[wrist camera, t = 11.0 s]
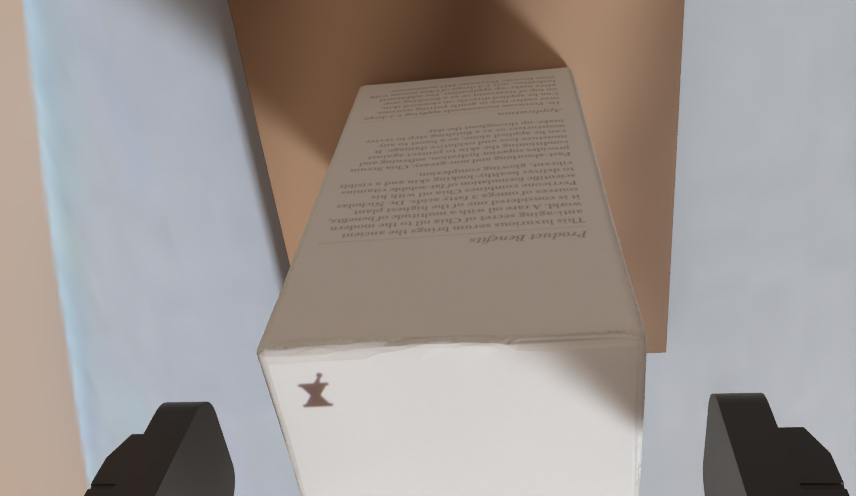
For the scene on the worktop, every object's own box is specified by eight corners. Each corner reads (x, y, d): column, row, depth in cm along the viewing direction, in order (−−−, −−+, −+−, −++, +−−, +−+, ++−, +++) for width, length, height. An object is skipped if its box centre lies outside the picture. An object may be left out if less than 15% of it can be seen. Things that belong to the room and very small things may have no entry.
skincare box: (381, 214, 25) (298, 534, 14) (358, 81, 22) (242, 346, 12) (581, 201, 24) (643, 528, 14) (578, 61, 22) (650, 326, 11)
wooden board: (684, -199, 19) (694, -197, 18) (659, 330, 27) (665, 352, 26) (210, -142, 21) (195, -137, 20) (320, 345, 29) (313, 366, 28)
